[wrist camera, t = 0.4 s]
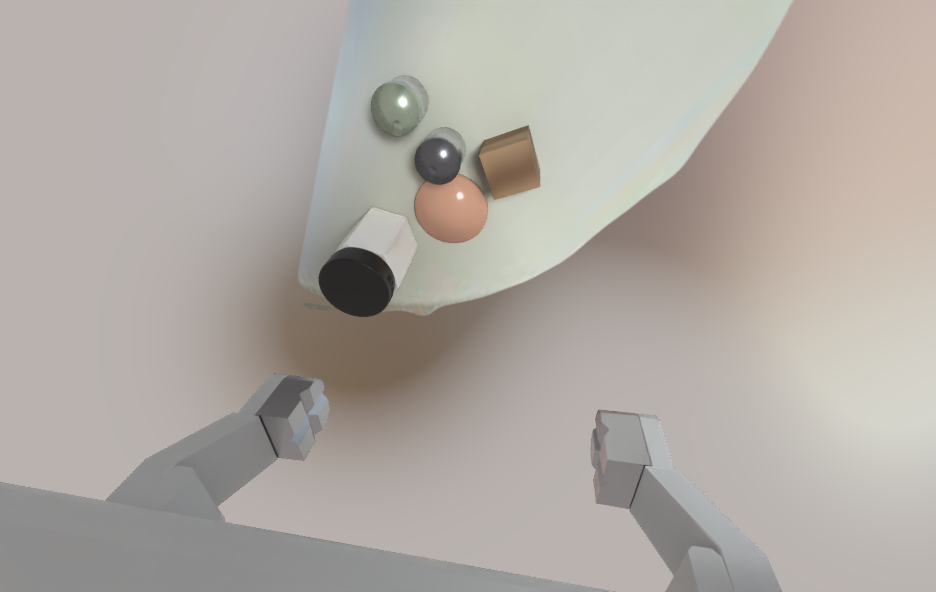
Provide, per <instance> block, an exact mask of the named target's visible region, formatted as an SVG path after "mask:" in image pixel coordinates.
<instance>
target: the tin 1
mask: <svg viewBox="0 0 936 592" xmlns="http://www.w3.org/2000/svg"><path fill="white" fill-rule="evenodd" d="M427 109H428V95H427V92H426V90H425V88H424V86H423V85H422V84H421V83H420V82H419V81H418V80H417V79H415V78H413V77H411V76H399V77H397V78H395V79H393V80H392V81H390V82H388V83H385V84H383V85H382V86H380V87H379V88H378V89H377V90H376V91H375V93H374V95H373V97H372V101H371V110H372V114H373V117H374V119H375V121H376V123H377V124H378V126H379V127H380V128H381V129H382V130H384V131H385V132H387V133H389V134H391V135H395V136H403V135H406V134H408V133H410V132H411V131H412V130H413V129H414V128H415V127H416V126H417V124H418V122H419V121H420V120H421V119H422V118H423V116H424V115H425V114H426V112H427Z"/></svg>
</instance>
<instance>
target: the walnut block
mask: <svg viewBox="0 0 936 592" xmlns="http://www.w3.org/2000/svg"><path fill="white" fill-rule="evenodd" d="M479 157H480V160H481V163H482V166H483V169H484V171H485V174H486V177H487V180H488V183H489V186H490V189H491V192H492V195H493V198H494V200H496V199H499V198H503V197H506V196H510V195H513V194H517V193H520V192H524V191H527V190H531V189H534V188H538V187H540V168H539V164H538V160H537V156H536V152H535V149H534V145H533V141H532V137H531V133H530V129H529V125H528V126H525V127H522V128H519V129H516V130H513V131H510V132H507V133H504V134H501V135H499V136H496V137H493V138H490V139H487V140H484V142H483V145H482V148H481V151H480V154H479Z"/></svg>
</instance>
